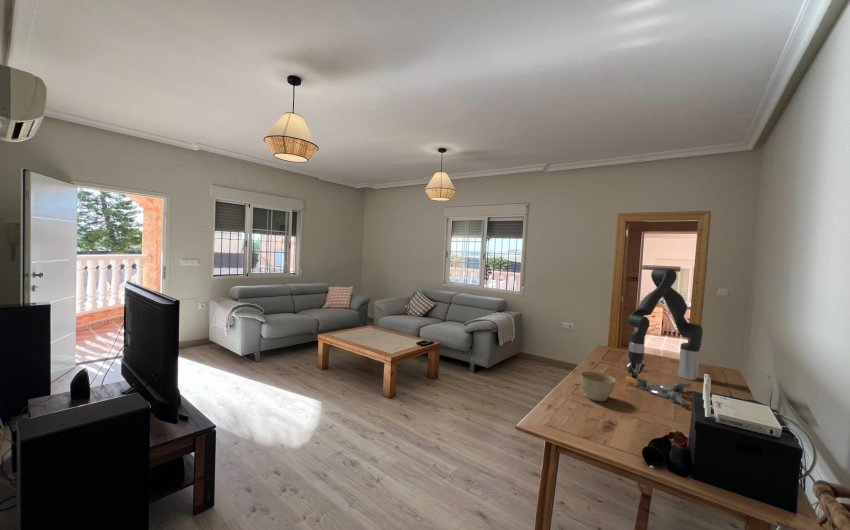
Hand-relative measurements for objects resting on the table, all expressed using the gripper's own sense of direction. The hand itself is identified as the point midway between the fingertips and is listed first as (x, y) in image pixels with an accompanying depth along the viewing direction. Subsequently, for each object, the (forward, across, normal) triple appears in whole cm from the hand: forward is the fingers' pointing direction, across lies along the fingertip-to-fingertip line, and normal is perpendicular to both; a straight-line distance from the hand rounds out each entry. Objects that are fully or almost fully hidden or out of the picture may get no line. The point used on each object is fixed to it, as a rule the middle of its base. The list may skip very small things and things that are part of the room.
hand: (634, 380), depth 202 cm
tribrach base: (+2, -3, +13) cm, 13 cm away
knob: (+1, +3, +26) cm, 26 cm away
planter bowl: (+2, +37, +8) cm, 38 cm away
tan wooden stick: (+1, +2, +3) cm, 3 cm away
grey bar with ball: (+1, -18, +15) cm, 23 cm away
